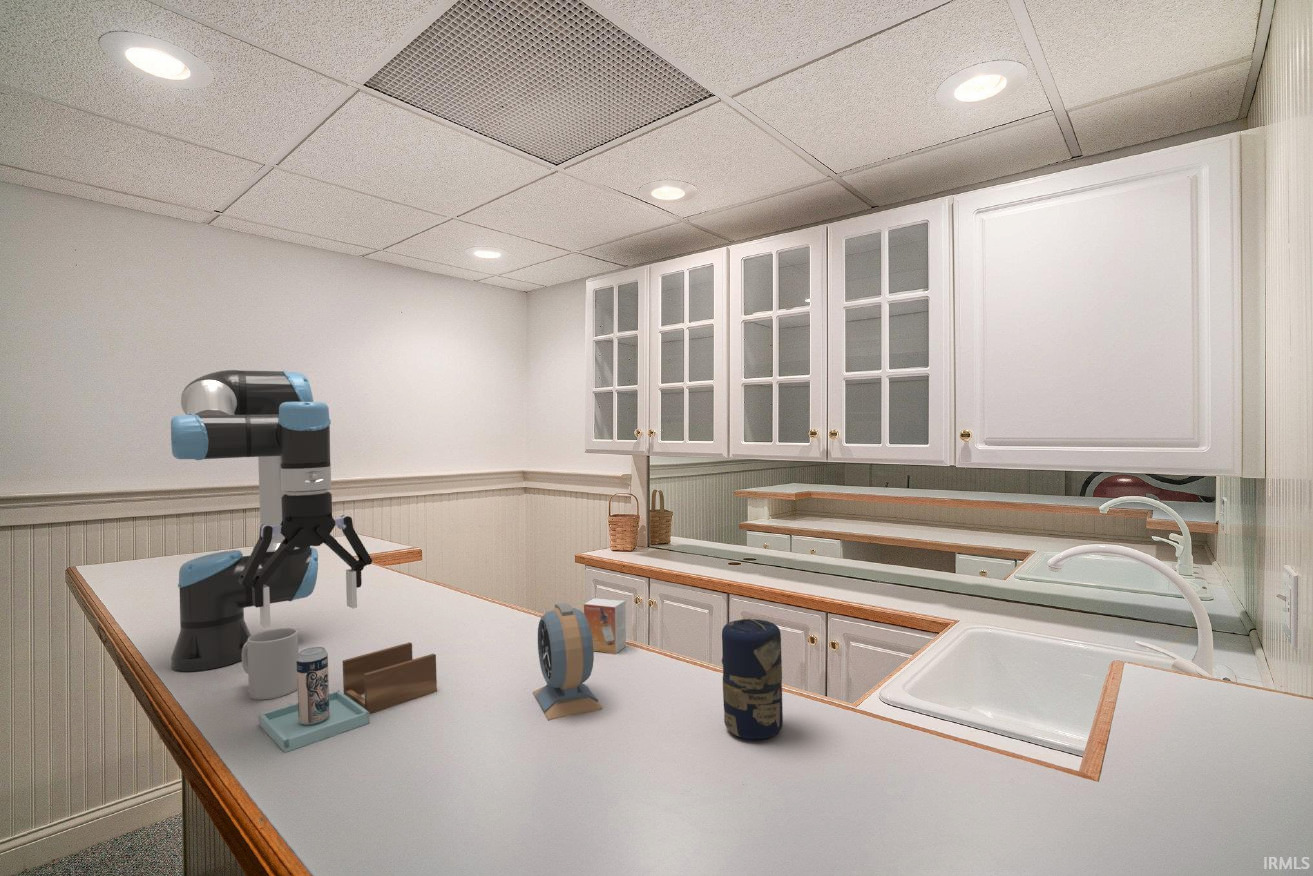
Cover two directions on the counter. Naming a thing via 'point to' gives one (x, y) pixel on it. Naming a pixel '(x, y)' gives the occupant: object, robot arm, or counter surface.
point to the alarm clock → (565, 663)
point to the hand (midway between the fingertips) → (310, 615)
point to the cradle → (388, 677)
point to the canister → (752, 678)
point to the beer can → (312, 686)
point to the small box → (607, 624)
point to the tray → (296, 735)
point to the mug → (271, 663)
